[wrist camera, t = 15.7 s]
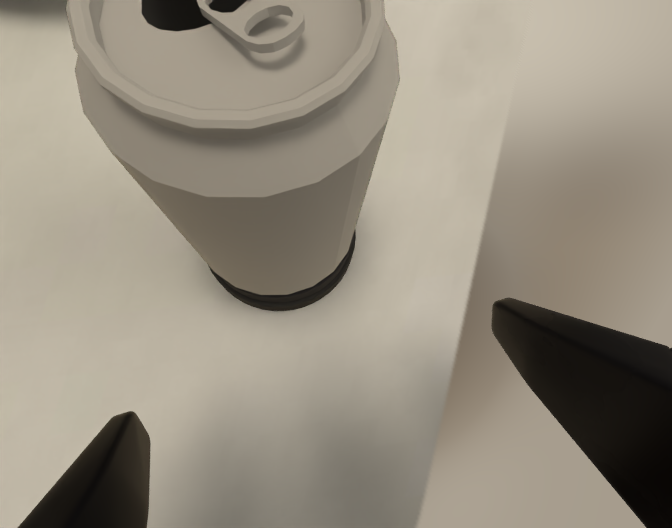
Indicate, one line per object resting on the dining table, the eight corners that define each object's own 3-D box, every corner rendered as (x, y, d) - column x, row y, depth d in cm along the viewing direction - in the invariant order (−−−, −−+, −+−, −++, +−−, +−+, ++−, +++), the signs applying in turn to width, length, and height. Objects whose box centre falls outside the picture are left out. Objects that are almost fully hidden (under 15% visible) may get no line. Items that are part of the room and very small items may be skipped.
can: (279, 132, 20) (240, -186, 9) (383, 225, 19) (494, -5, 8) (166, 225, 18) (-67, -31, 7) (275, 333, 17) (210, 240, 6)
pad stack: (373, 285, 21) (381, 273, 18) (227, 331, 20) (216, 324, 17) (327, 160, 23) (329, 136, 21) (192, 195, 22) (178, 173, 19)
